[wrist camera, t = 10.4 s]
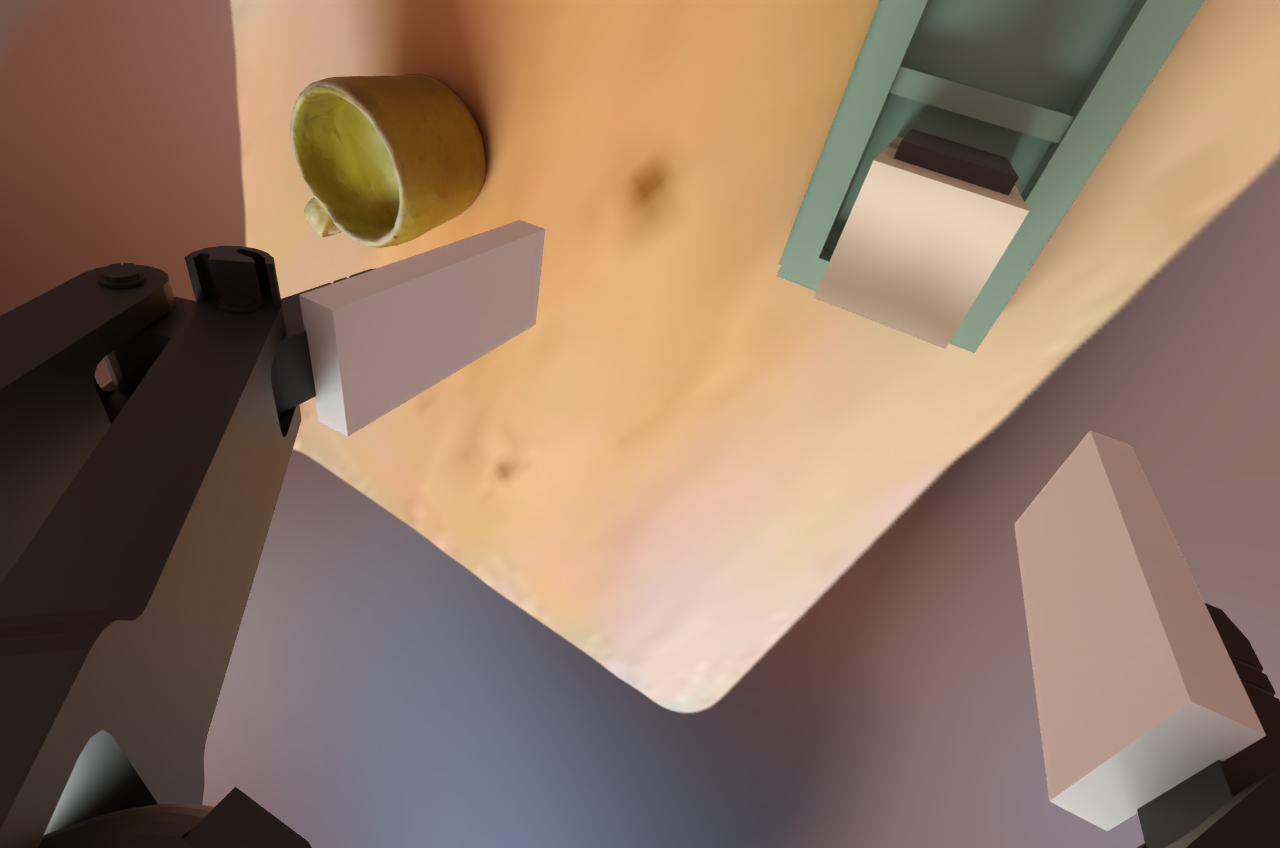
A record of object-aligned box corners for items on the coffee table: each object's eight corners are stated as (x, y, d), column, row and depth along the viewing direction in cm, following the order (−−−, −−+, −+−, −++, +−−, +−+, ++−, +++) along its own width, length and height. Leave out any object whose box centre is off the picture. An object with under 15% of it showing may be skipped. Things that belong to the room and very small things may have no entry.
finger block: (903, 122, 27) (881, 140, 19) (1015, 156, 26) (1041, 191, 18) (850, 240, 30) (813, 297, 22) (948, 275, 29) (945, 348, 21)
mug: (430, 3, 34) (300, 75, 29) (533, 167, 39) (440, 253, 34) (340, 85, 42) (226, 153, 37) (437, 212, 47) (349, 287, 42)
